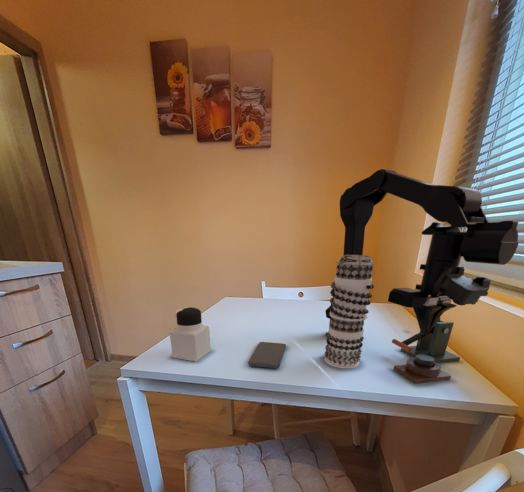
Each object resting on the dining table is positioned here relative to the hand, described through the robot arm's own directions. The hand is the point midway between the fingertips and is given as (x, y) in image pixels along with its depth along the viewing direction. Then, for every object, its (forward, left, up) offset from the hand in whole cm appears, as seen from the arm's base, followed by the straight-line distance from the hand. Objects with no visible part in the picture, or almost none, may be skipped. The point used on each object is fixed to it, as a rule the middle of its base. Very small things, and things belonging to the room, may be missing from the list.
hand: (424, 334), depth 61 cm
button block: (0, -2, -9) cm, 9 cm away
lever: (+6, +7, -4) cm, 10 cm away
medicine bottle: (-50, +21, -9) cm, 55 cm away
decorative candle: (-14, +9, -9) cm, 19 cm away
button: (0, -2, -6) cm, 7 cm away
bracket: (+10, +7, -9) cm, 15 cm away
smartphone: (-31, +16, -9) cm, 36 cm away
